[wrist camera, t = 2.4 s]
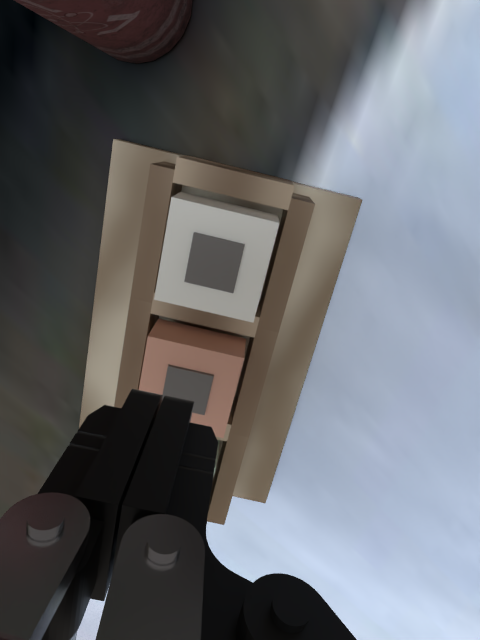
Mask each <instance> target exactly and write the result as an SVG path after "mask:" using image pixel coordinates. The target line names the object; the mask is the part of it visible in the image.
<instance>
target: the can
mask: <svg viewBox="0 0 480 640" xmlns="http://www.w3.org/2000/svg"><path fill="white" fill-rule="evenodd" d="M15 1H16V2H18V3H20V4H21V5H23V6H25V7H27V8H28V9H30V10H32V11H34V12H35V13H37V14H39V15H41V16H42V17H44V18H46V19H48V20H49V21H51V22H53V23H54V24H56V25H58V26H60V27H61V28H63V29H65V30H67V31H68V32H70V33H72V34H74V35H75V36H77V37H79V38H81V39H82V40H84V41H86V42H87V43H89V44H91V45H93V46H94V47H96V48H98V49H100V50H101V51H103V52H105V53H107V54H108V55H110V56H112V57H114V58H116V59H117V60H120V61H126V62H131V63H142V62H148V61H153V60H156V59H157V58H159V57H161V56H162V55H164V54H166V53H167V52H169V51H170V50H171V49H172V48H173V47H174V46H175V44H176V43H177V42H178V41H179V40H180V38H181V37H182V36H183V34H184V31H185V29H186V27H187V24H188V22H189V19H190V17H191V9H192V0H15Z"/></svg>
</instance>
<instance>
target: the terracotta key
mask: <svg viewBox="0 0 480 640" xmlns="http://www.w3.org/2000/svg"><path fill="white" fill-rule="evenodd" d="M245 345H246V339H245V338H240V337H236V336H232V335H228V334H223V333H219V332H215V331H210V330H206V329H202V328H197V327H193V326H189V325H184V324H180V323H176V322H171V321H167V320H163V319H158V320H157V322H156V323H155V325H154V327H153V328H152V330H151V332H150V333H149V335H148V338H147V344H146V350H145V356H144V361H143V367H142V373H141V379H140V385H139V390H141V391H146V392H151V393H156V394H160V395H163V398H164V396H165V395H166V396H170V397H175V398H180V399H185V400H190V401H194V407H193V412H192V416H191V421H190V423H195V424H200V425H205V426H210V427H212V429H213V431H214V434H215V436H216V437H220V438H224V434H225V431H226V427H227V423H228V419H229V415H230V411H231V407H232V404H233V400H234V396H235V392H236V388H237V384H238V380H239V377H240V373H241V369H242V365H243V361H244V356H245ZM162 400H163V399H162Z"/></svg>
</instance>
